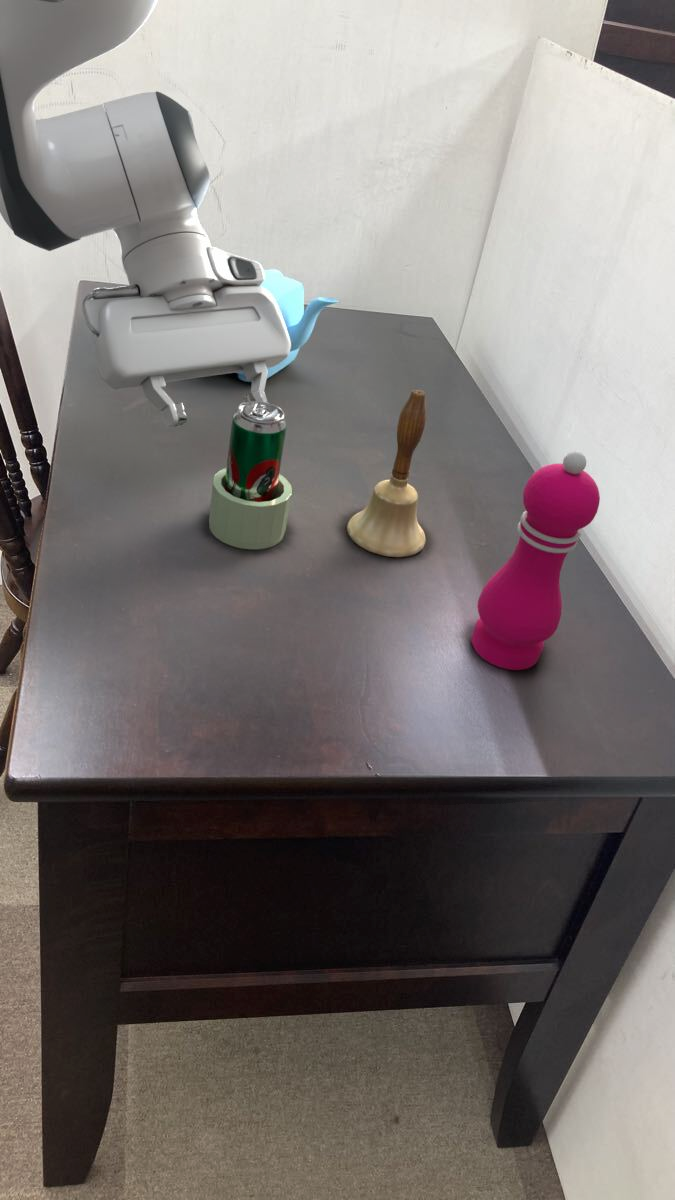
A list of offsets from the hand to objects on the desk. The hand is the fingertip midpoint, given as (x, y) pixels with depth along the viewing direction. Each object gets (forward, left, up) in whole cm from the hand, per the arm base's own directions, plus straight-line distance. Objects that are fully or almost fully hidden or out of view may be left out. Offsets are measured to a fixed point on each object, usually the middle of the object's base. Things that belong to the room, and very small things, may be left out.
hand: (219, 417), depth 88 cm
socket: (+1, -7, -9) cm, 11 cm away
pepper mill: (+17, -30, -9) cm, 36 cm away
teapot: (+16, +30, -9) cm, 35 cm away
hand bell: (+15, -11, -9) cm, 21 cm away
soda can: (+1, -7, -8) cm, 11 cm away
